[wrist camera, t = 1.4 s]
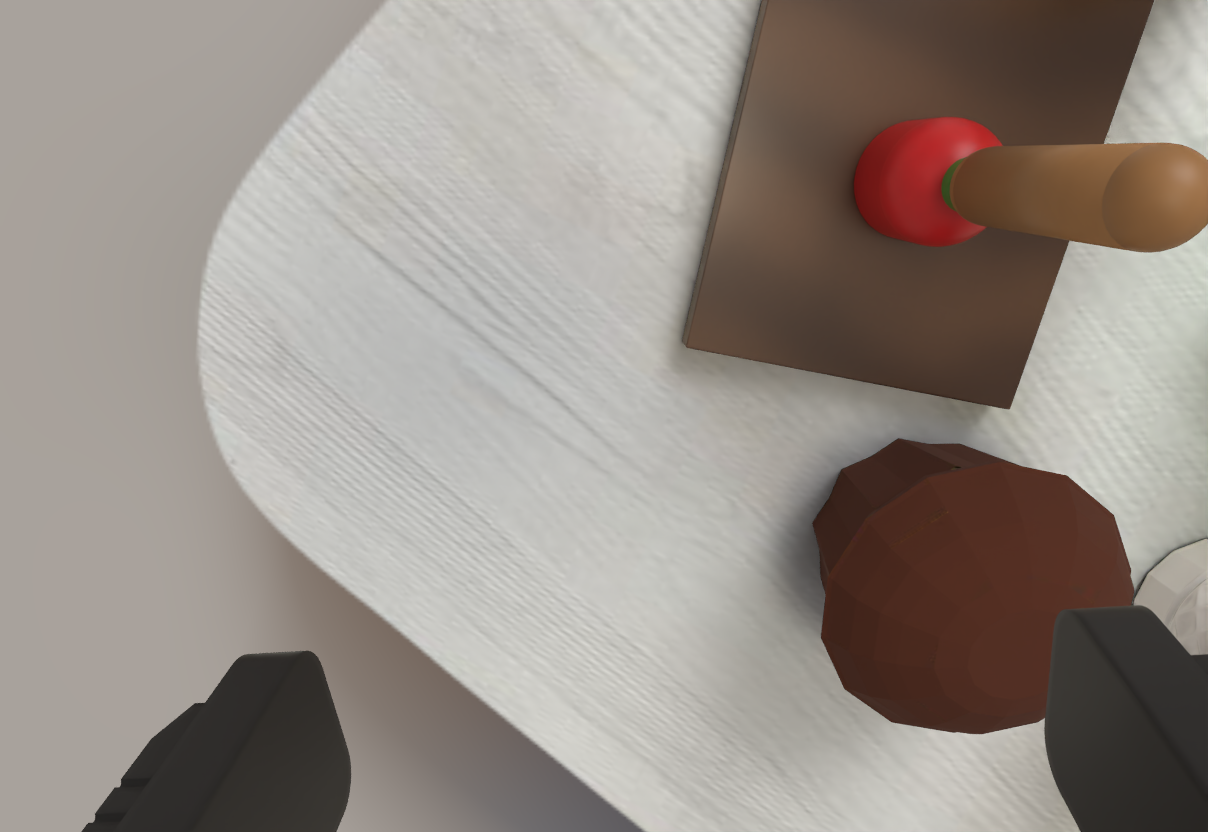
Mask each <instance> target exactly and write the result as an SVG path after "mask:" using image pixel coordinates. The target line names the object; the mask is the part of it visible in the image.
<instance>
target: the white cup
mask: <svg viewBox="0 0 1208 832" xmlns="http://www.w3.org/2000/svg"><path fill="white" fill-rule="evenodd" d="M1134 605H1142V606H1145V607H1147V608H1149V609H1150V610H1151V611H1152V612H1153V613H1154V614H1155V615H1156V616H1157V617H1158V618H1159V619H1160V620H1161V621H1162V623H1163V624H1164V625H1165V626H1166V627H1167V628H1168V629H1169V631H1170V632H1171V633H1172V634H1173V635H1174V636H1175V638H1176V639H1177V640H1178V641H1179V642H1180V643H1181V645H1182V646H1183V647H1184V648H1185V649H1186V650H1187V651H1188V653H1189V654H1190V655H1202V654H1208V539H1203V540H1201V541H1198V542H1195V543H1193V544H1190V545H1188V546H1185V547H1182V548H1180V549H1177V550H1175V551H1173V552H1172V553H1170V554H1169V555H1168V556H1167V557H1166V558H1165V559H1164V560H1162V561H1161V562H1160V563H1159V564H1158V565H1157V566H1156V567H1154V568H1153V569H1152V570H1151V571H1150V572H1149V573H1148V574H1147V576H1146V578H1145V580H1144V582H1143V584H1142V586H1141V588H1140V590H1139V592H1138V594H1137V596H1136V598H1135V599H1134Z"/></svg>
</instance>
